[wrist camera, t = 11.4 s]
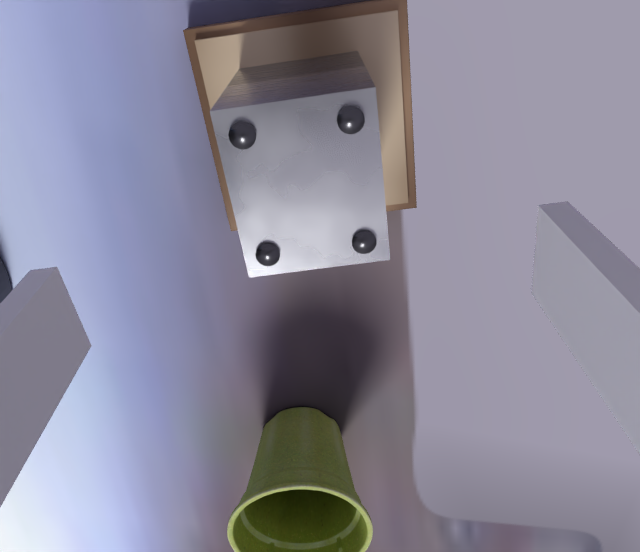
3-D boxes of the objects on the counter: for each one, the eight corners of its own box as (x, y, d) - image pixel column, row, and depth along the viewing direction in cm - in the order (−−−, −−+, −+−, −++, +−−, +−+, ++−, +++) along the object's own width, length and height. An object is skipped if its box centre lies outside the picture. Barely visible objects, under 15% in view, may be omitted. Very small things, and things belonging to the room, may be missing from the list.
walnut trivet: (233, 222, 33) (230, 233, 32) (188, 27, 28) (181, 30, 26) (413, 199, 32) (417, 209, 31) (403, -5, 27) (407, -3, 26)
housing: (265, 197, 31) (248, 279, 23) (239, 68, 27) (208, 112, 19) (370, 183, 30) (390, 261, 22) (357, 50, 27) (376, 88, 19)
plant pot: (358, 382, 40) (368, 481, 32) (366, 469, 44) (376, 573, 37) (232, 393, 40) (213, 493, 33) (253, 479, 45) (241, 582, 37)
